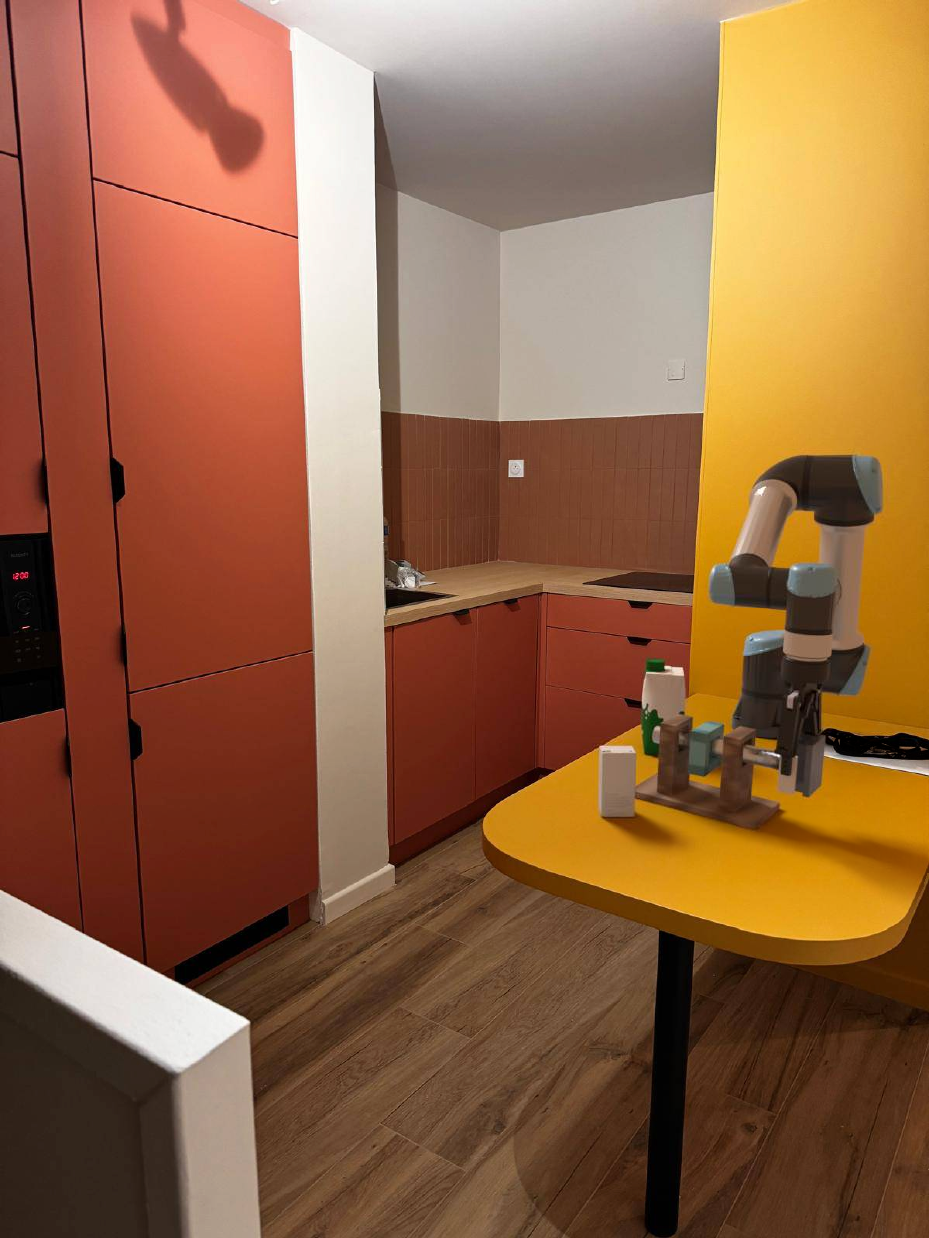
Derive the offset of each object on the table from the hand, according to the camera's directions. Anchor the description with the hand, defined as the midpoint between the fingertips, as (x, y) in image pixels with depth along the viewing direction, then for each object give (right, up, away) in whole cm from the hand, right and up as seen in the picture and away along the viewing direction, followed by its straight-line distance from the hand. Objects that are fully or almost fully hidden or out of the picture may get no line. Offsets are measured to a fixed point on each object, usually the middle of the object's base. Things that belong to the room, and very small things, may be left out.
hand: (795, 783), depth 149 cm
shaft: (-9, +1, +7) cm, 12 cm away
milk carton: (-14, -1, +40) cm, 42 cm away
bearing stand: (-13, -6, +11) cm, 18 cm away
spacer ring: (-13, +1, +10) cm, 16 cm away
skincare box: (-30, -7, +6) cm, 31 cm away
